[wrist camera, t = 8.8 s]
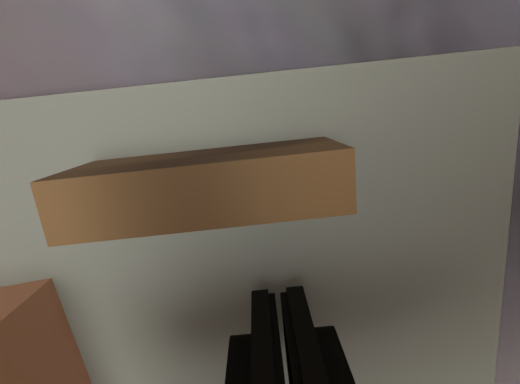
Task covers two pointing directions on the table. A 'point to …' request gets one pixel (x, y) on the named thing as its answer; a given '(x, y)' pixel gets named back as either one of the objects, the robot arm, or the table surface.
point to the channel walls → (197, 191)
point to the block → (37, 337)
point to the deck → (293, 232)
